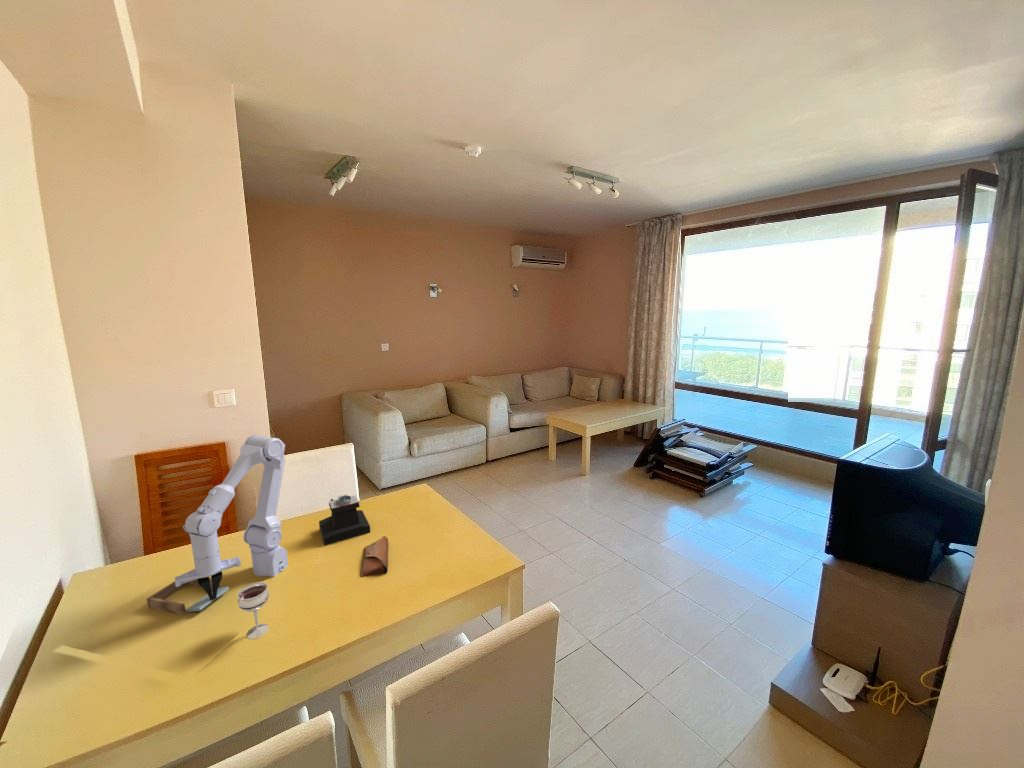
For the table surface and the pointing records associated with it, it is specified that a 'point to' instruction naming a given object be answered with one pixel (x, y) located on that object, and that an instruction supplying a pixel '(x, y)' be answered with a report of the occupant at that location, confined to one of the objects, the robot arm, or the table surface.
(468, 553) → the table surface
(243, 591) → the wineglass
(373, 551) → the sunglasses case
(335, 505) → the camera
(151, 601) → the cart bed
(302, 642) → the table surface
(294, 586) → the table surface
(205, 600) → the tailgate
